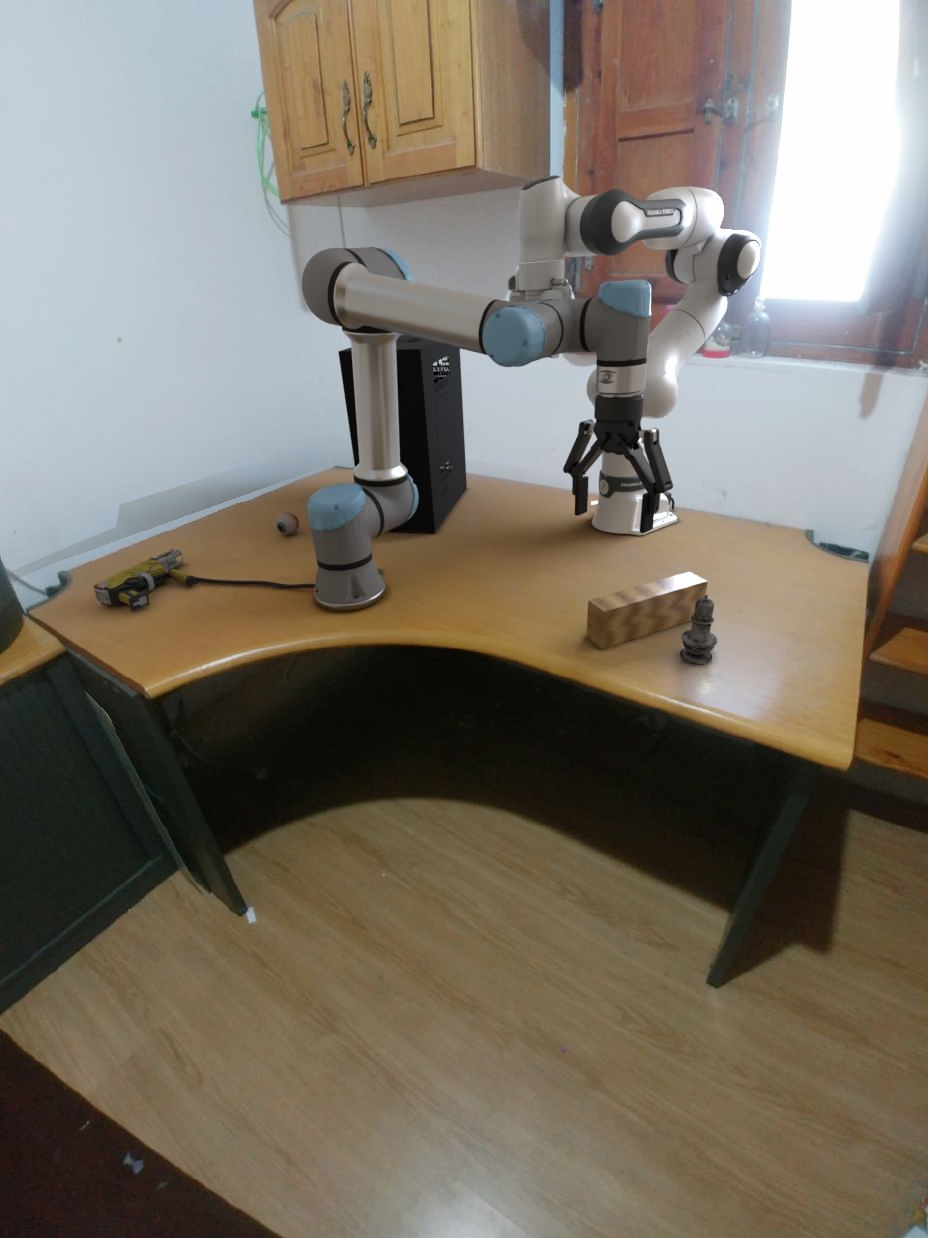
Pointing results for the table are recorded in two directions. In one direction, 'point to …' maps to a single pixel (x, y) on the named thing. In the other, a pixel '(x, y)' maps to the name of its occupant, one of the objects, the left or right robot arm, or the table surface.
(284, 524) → the eyeball
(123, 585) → the toy gun
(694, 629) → the dark grey piece
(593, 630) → the bar
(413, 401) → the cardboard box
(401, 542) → the table surface
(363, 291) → the left robot arm
